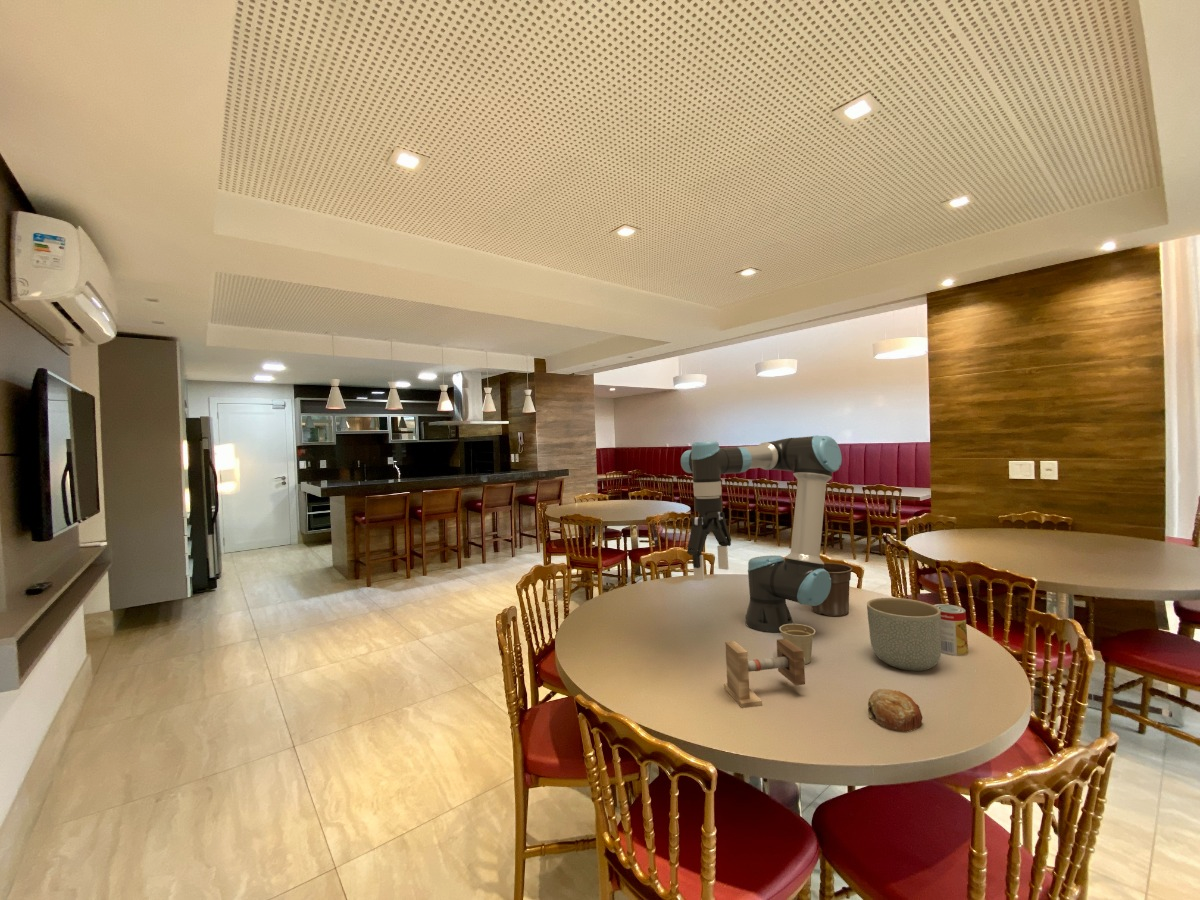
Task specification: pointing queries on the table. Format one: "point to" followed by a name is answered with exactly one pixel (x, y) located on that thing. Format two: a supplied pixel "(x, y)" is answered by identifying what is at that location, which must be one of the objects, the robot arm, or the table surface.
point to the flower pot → (799, 637)
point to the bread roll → (894, 710)
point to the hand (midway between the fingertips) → (711, 574)
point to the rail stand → (746, 673)
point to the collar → (792, 661)
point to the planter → (905, 632)
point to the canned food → (953, 630)
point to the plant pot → (836, 591)
